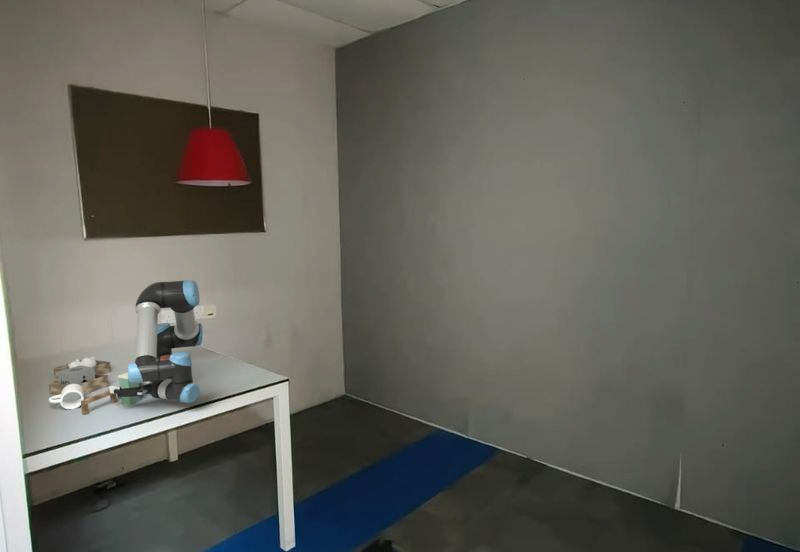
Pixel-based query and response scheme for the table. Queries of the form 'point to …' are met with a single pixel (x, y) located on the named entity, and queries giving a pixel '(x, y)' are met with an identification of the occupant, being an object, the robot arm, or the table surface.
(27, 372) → the table surface
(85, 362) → the cat figurine
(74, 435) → the table surface
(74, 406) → the mug
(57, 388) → the corral
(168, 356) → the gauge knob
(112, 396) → the handrail
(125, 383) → the green rectangular block
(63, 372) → the icon cube
